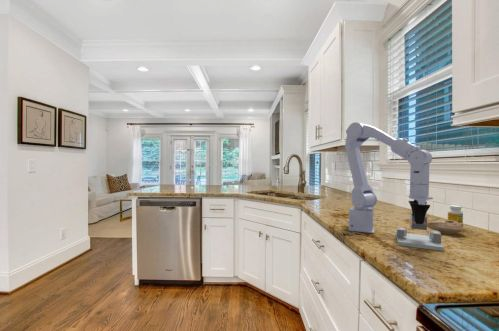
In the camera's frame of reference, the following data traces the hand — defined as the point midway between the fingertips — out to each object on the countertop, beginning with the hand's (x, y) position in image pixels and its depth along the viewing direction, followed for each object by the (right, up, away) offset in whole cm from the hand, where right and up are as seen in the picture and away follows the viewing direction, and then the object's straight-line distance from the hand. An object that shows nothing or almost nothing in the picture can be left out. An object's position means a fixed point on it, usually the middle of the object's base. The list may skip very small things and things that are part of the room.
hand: (418, 222), depth 97 cm
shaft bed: (0, -7, 0) cm, 7 cm away
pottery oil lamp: (+19, -7, +14) cm, 25 cm away
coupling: (0, -2, 0) cm, 2 cm away
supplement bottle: (+30, -7, +23) cm, 38 cm away
